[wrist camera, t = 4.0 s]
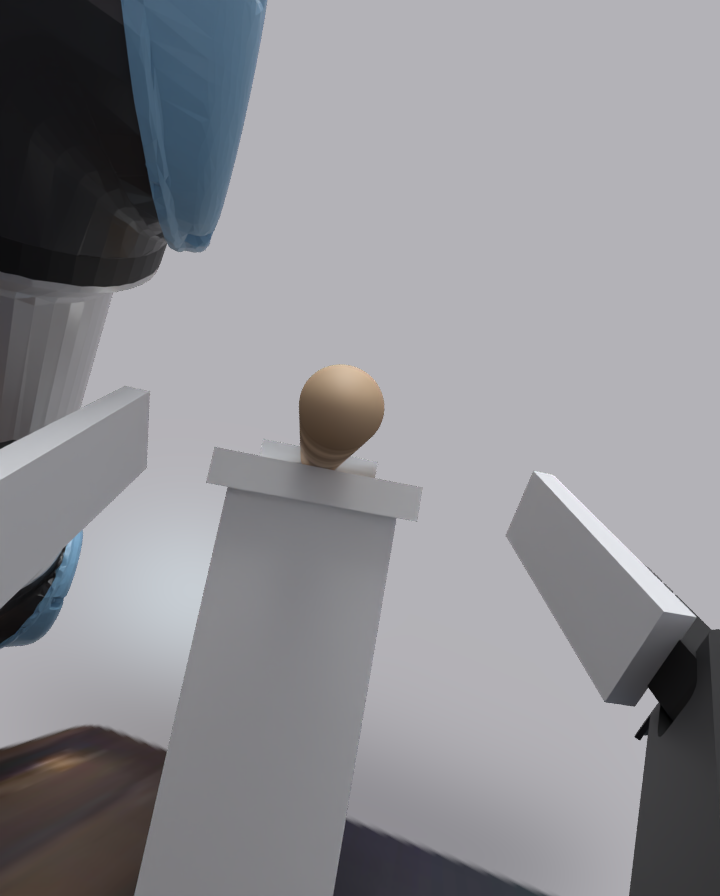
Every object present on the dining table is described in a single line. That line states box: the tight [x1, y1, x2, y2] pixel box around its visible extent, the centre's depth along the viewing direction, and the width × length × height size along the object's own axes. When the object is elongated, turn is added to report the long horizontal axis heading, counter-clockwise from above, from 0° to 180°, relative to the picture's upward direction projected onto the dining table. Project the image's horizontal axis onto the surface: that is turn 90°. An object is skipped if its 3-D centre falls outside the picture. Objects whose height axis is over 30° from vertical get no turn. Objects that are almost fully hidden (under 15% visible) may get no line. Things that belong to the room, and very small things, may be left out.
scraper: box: [260, 364, 384, 478], centre depth 26 cm, size 23×9×3 cm, turn 8°
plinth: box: [134, 447, 422, 896], centre depth 29 cm, size 14×12×30 cm
